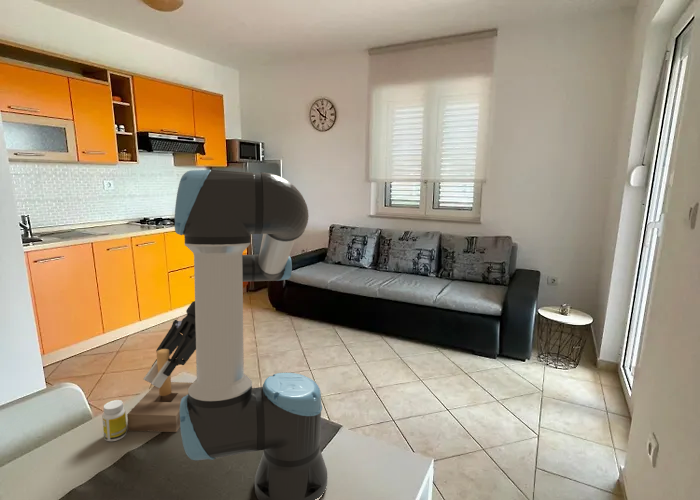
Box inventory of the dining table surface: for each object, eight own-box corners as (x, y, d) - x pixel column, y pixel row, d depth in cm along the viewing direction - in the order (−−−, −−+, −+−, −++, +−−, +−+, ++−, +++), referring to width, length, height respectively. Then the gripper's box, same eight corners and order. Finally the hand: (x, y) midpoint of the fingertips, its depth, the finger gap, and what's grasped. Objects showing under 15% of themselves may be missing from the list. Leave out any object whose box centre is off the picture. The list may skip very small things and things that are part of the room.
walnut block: (176, 431, 96) (175, 415, 96) (128, 430, 96) (127, 414, 95) (200, 397, 112) (199, 382, 111) (158, 395, 112) (158, 381, 111)
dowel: (168, 396, 102) (166, 354, 100) (157, 395, 102) (154, 353, 100) (173, 389, 105) (171, 349, 103) (162, 389, 105) (159, 348, 103)
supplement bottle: (131, 430, 96) (129, 399, 95) (118, 443, 92) (115, 410, 90) (113, 428, 97) (111, 398, 95) (99, 441, 92) (96, 409, 91)
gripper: (231, 319, 109) (179, 399, 98) (196, 307, 117) (145, 379, 107) (214, 306, 103) (158, 388, 93) (180, 294, 112) (124, 368, 101)
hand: (151, 383), depth 100 cm, fingers closed on dowel, 3 cm apart
